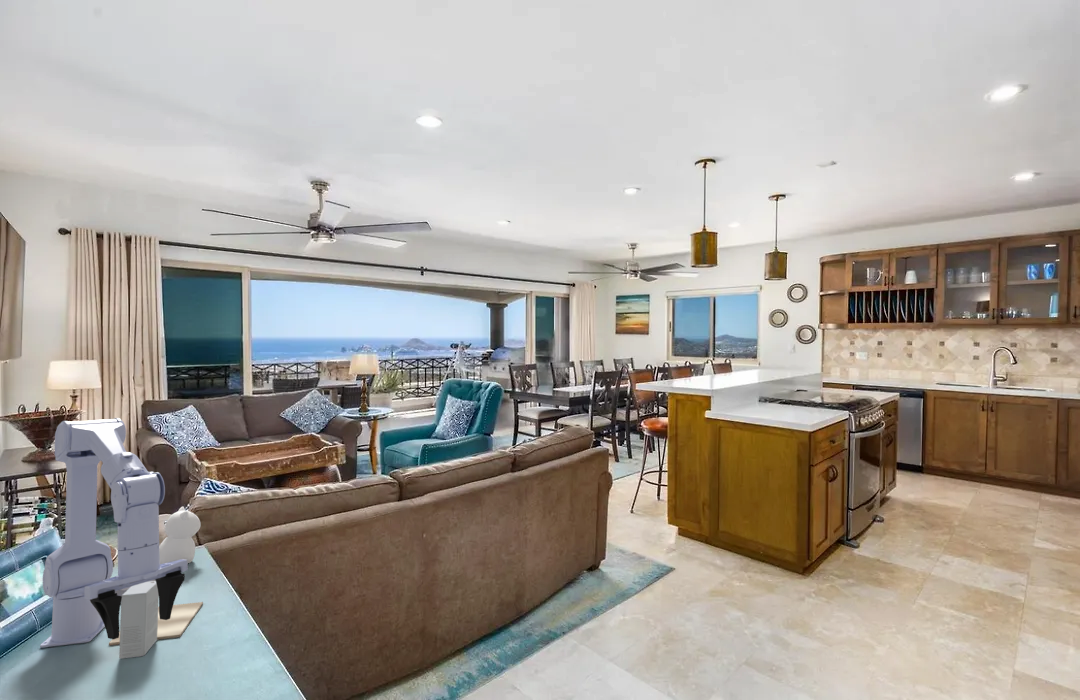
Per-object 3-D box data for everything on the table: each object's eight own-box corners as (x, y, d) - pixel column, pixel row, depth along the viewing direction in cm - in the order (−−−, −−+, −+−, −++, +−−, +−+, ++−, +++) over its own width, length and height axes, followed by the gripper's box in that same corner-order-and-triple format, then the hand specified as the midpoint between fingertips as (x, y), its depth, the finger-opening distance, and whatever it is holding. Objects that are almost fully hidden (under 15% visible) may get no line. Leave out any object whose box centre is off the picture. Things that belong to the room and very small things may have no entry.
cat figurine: (201, 564, 142) (205, 509, 143) (144, 576, 134) (148, 517, 135) (195, 555, 149) (198, 503, 150) (140, 565, 140) (144, 509, 141)
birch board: (141, 610, 116) (141, 608, 116) (202, 604, 119) (203, 601, 119) (108, 645, 102) (108, 642, 102) (179, 637, 105) (180, 634, 105)
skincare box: (132, 643, 103) (135, 582, 103) (157, 640, 104) (160, 579, 104) (117, 659, 97) (120, 595, 97) (144, 656, 98) (147, 592, 98)
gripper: (98, 559, 82) (99, 650, 80) (196, 535, 94) (198, 613, 93) (78, 557, 85) (78, 645, 83) (175, 534, 98) (176, 609, 96)
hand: (140, 628), depth 88 cm, fingers open, 7 cm apart
